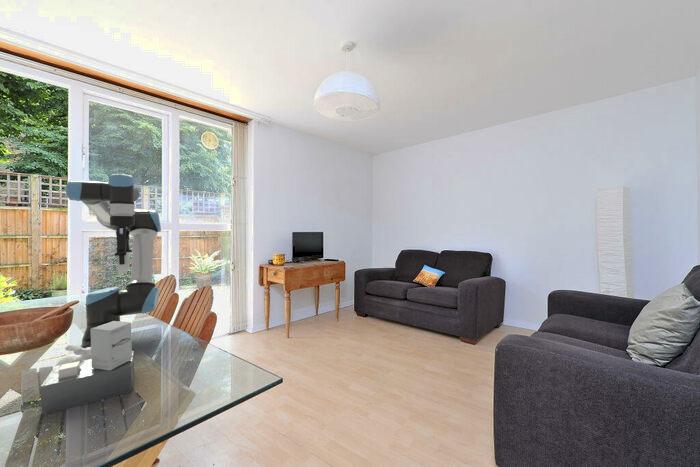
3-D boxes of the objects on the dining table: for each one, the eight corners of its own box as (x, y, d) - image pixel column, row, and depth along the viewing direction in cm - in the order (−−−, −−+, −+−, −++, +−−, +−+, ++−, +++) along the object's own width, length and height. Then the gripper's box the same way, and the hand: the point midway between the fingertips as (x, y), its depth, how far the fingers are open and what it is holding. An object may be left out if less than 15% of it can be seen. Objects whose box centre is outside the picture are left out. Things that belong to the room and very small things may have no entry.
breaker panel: (56, 391, 93) (54, 364, 92) (134, 373, 104) (133, 349, 104) (41, 414, 81) (40, 384, 81) (131, 391, 92) (131, 364, 92)
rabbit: (101, 369, 106) (100, 337, 106) (84, 383, 97) (82, 347, 97) (62, 373, 104) (61, 339, 104) (40, 387, 95) (39, 351, 94)
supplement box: (110, 371, 89) (109, 330, 88) (90, 368, 90) (89, 328, 90) (133, 359, 96) (131, 321, 95) (114, 357, 98) (113, 320, 97)
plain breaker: (62, 380, 88) (61, 364, 88) (80, 377, 91) (79, 361, 90) (59, 387, 85) (58, 370, 85) (77, 382, 87) (76, 366, 87)
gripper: (113, 216, 120) (115, 267, 121) (105, 214, 100) (107, 276, 100) (136, 216, 124) (137, 266, 125) (132, 214, 104) (134, 274, 104)
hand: (124, 271), depth 113 cm, fingers open, 13 cm apart
